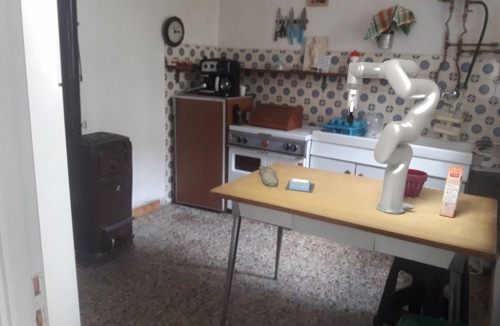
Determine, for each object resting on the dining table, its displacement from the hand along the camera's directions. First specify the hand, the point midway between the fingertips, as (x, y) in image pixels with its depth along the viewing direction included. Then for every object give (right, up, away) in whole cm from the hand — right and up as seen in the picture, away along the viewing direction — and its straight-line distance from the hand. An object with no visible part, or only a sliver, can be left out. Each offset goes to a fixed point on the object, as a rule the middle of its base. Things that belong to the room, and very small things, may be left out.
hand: (349, 122), depth 202 cm
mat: (-25, -34, +5) cm, 42 cm away
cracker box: (+39, -44, -23) cm, 64 cm away
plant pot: (+31, -38, 0) cm, 49 cm away
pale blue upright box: (-25, -31, +4) cm, 40 cm away
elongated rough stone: (-42, -30, +18) cm, 55 cm away
